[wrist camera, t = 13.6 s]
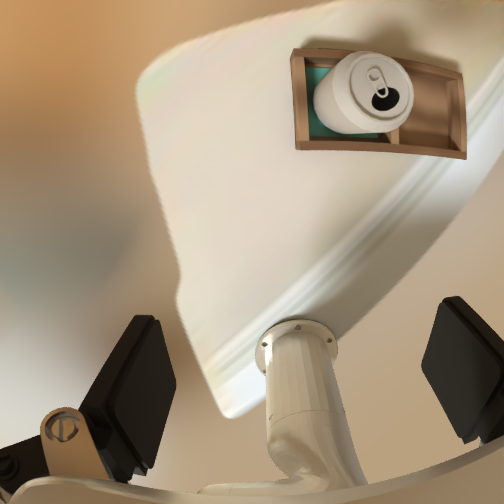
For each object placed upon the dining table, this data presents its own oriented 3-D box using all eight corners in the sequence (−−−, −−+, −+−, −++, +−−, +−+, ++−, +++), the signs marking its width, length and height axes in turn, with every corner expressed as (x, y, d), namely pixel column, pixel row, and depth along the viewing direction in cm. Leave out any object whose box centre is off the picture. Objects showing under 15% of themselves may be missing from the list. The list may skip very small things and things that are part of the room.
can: (334, 146, 32) (371, 149, 21) (298, 92, 30) (318, 67, 19) (383, 116, 30) (436, 109, 19) (349, 64, 28) (389, 33, 17)
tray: (449, 156, 32) (466, 159, 29) (295, 149, 33) (300, 150, 30) (445, 75, 28) (461, 71, 25) (289, 55, 29) (293, 46, 26)
